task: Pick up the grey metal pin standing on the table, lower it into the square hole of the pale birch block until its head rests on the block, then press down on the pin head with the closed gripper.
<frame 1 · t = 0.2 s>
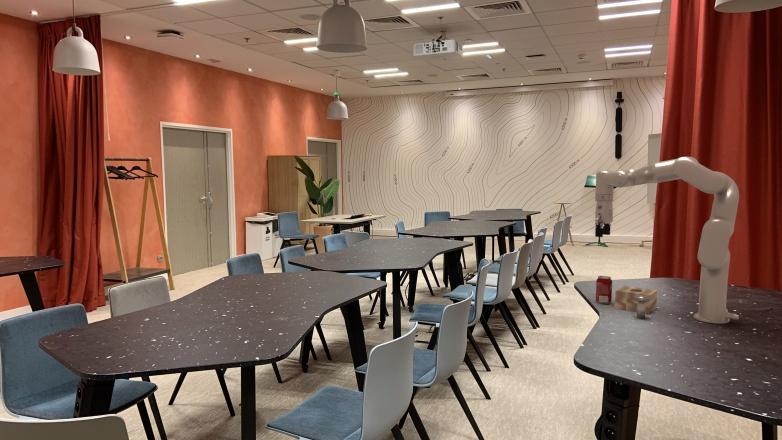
hand: (602, 235, 245), 31 cm above the table, tool pointing down, fingers open, 9 cm apart
soda can: (603, 303, 248), on the table
pin: (640, 317, 223), on the table
block: (635, 308, 238), on the table
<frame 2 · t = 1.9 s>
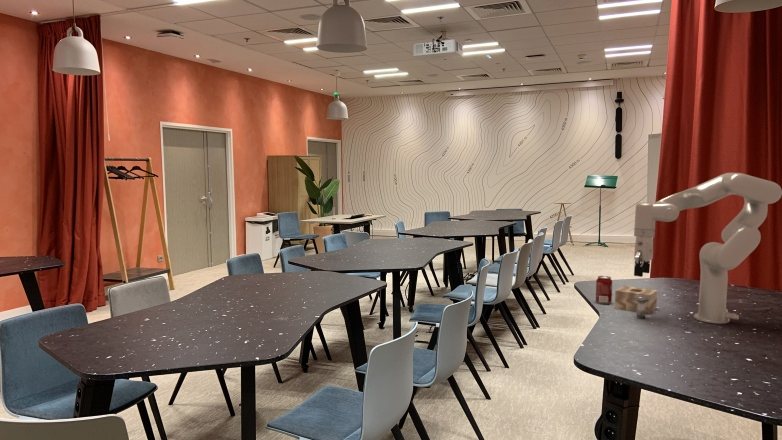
hand: (641, 274, 221), 18 cm above the table, tool pointing down, fingers open, 9 cm apart
nothing on the table moved.
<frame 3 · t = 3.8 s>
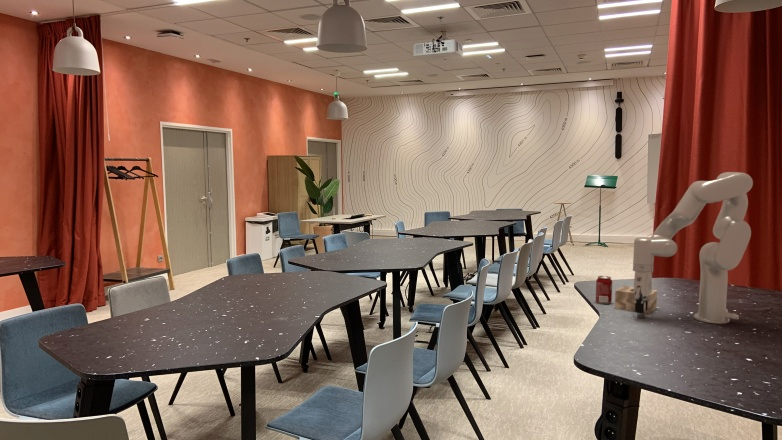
hand: (641, 310, 223), 3 cm above the table, tool pointing down, fingers closed on pin, 4 cm apart
pin: (640, 317, 223), on the table, touching gripper
everything else where it was.
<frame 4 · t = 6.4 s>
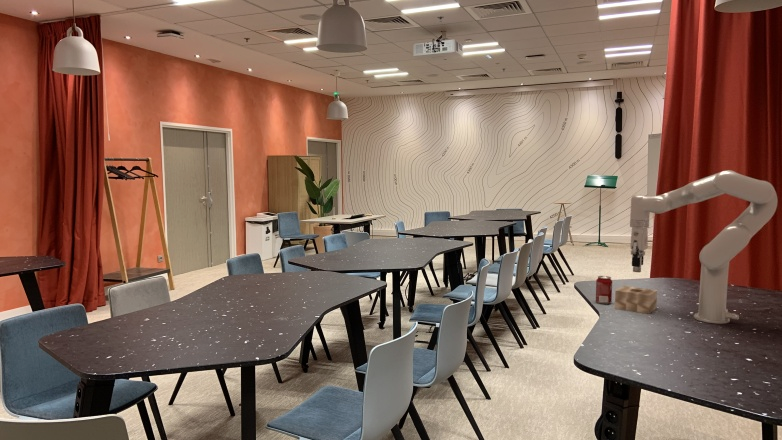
hand: (637, 265, 235), 19 cm above the table, tool pointing down, fingers closed on pin, 4 cm apart
pin: (636, 271, 235), point 17 cm above the table, touching gripper
everything else where it was.
when the fingers open (9 cm above the table, at t = 9.2 s): pin drops 6 cm, resting on block.
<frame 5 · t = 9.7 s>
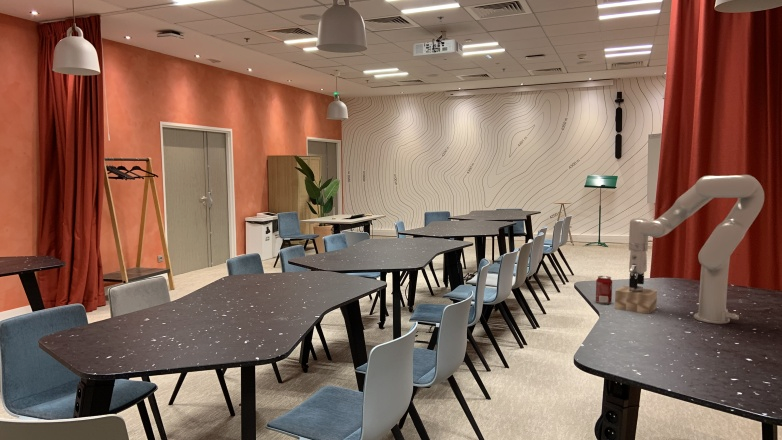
hand: (636, 285, 237), 10 cm above the table, tool pointing down, fingers open, 9 cm apart
pin: (635, 307, 238), resting on block
everything else where it was.
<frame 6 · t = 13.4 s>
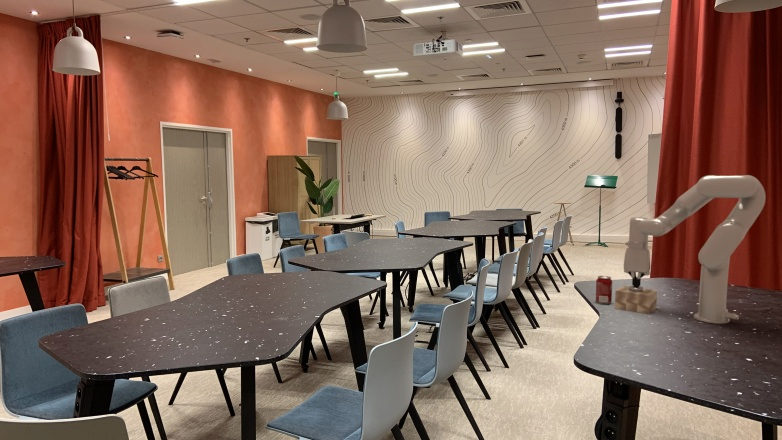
hand: (636, 287, 237), 10 cm above the table, tool pointing down, fingers closed
pin: (635, 307, 238), resting on block, touching gripper
everything else where it was.
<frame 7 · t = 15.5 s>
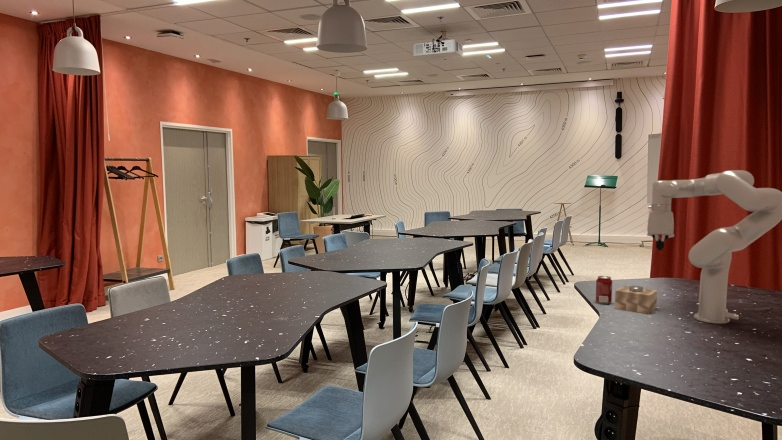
hand: (660, 249, 239), 25 cm above the table, tool pointing down, fingers closed
pin: (635, 307, 238), resting on block
everything else where it was.
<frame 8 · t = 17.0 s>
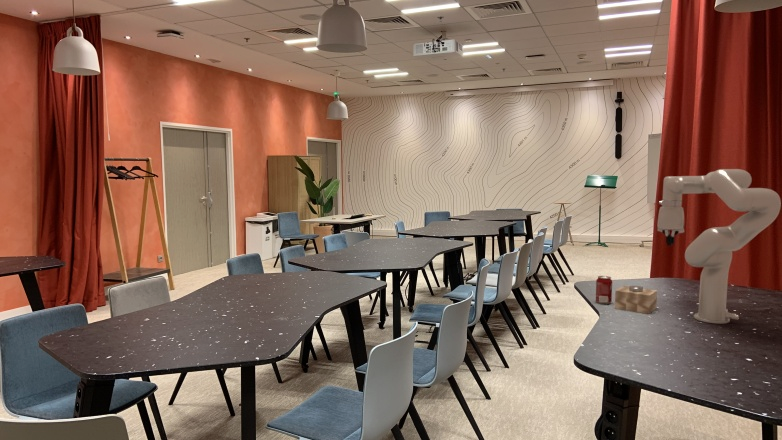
hand: (669, 245, 241), 27 cm above the table, tool pointing down, fingers closed
nothing on the table moved.
at the end: pin 0.1 cm from the block (horizontally); pin point 0.5 cm above the table; pin tilted 0° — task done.
